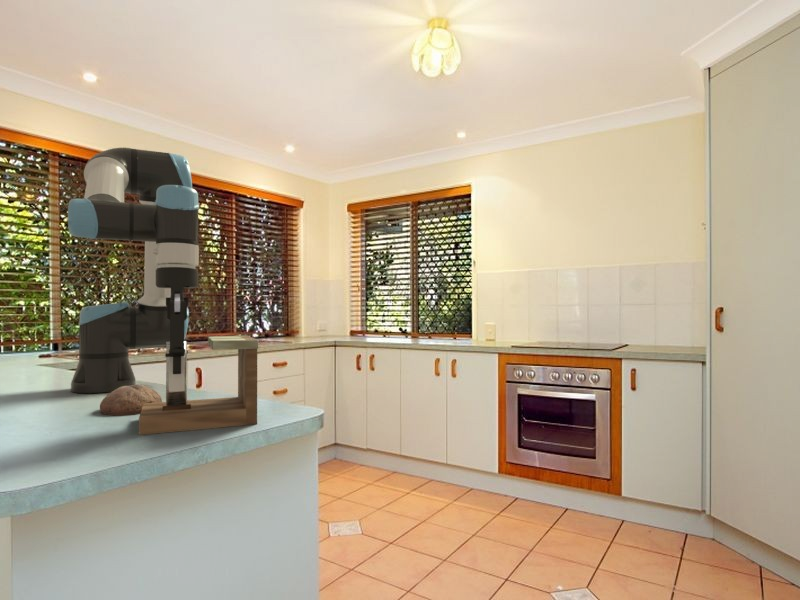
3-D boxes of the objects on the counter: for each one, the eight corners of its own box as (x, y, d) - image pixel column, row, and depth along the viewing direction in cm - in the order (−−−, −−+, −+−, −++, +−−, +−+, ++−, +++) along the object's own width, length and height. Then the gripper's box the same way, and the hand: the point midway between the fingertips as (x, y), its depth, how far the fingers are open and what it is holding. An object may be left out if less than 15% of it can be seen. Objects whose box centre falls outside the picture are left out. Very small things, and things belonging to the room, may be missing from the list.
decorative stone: (128, 418, 102) (128, 391, 102) (86, 414, 107) (86, 387, 107) (173, 407, 113) (173, 383, 113) (133, 403, 118) (134, 380, 118)
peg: (186, 401, 99) (186, 340, 99) (186, 405, 96) (187, 341, 96) (166, 403, 98) (166, 341, 98) (165, 406, 94) (166, 342, 95)
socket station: (144, 417, 102) (144, 338, 102) (247, 409, 110) (247, 335, 110) (138, 436, 87) (139, 343, 87) (257, 425, 95) (258, 340, 95)
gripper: (157, 269, 103) (156, 385, 103) (153, 263, 88) (153, 398, 88) (196, 270, 106) (196, 382, 106) (200, 264, 91) (199, 395, 91)
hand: (176, 389), depth 97 cm, fingers closed on peg, 3 cm apart
